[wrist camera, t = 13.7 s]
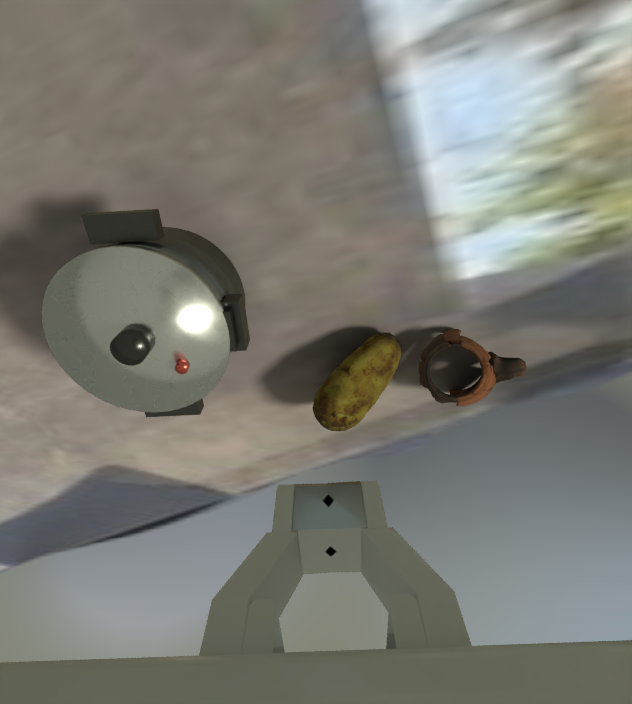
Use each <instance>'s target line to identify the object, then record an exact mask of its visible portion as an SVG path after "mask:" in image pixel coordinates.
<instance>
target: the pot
mask: <svg viewBox="0 0 632 704" xmlns="http://www.w3.org/2000/svg"><path fill="white" fill-rule="evenodd" d="M82 218H83V221H84V225H85V228H86V231H87V234H88V237H89V240H90V243H91V244H104V243H115V244H113V245H135V246H143V247H147V248H151V249H155V250H158V251H160V252H163V253H165V254H168V255H170V256H172V257H174V258H176V259H178V260H180V261H181V262H183V263H184V264H186V265H187V266H189V267H190V268H192V269H193V270H194V271H195V272H196V273H198V274H199V275H200V276H201V277H202V278H203V279H204V280H205V281H206V282H207V283H208V284H209V285H210V286H211V288H212V289H213V291H214V292H215V293H216V295H217V296H218V298H219V300H220V301H221V303H222V305H223V307H224V309H231V310H232V316H233V322H234V328H235V334H236V340H237V346H238V348H237V351H241V350H247V347H248V344H249V341H250V337H249V330H248V324H247V317H246V310H245V294H244V289H243V285H242V282H241V279H240V277H239V275H238V273H237V271H236V269H235V267H234V266H233V264H232V263H231V261H230V260H229V259H228V258H227V256H226V255H225V254H224V253H223V252H222V251H221V250H220V249H219V248H218V247H216V246H215V245H214V244H212V243H211V242H210V241H208V240H206V239H205V238H203V237H201V236H199V235H197V234H194V233H192V232H189V231H186V230H182V229H177V228H163V227H162V223H161V219H160V215H159V210H158V209H150V210H133V211H117V212H100V213H90V214H86V215H82ZM203 407H204V404H203V400H202V399H200V400H199V401H197V402H195V403H193V404H191V405H189V406H186V407H183V408H181V409H177V410H172V411H166V412H145V414H146V417H158V416H178V415H199V414H201V411H202V409H203Z"/></svg>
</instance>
